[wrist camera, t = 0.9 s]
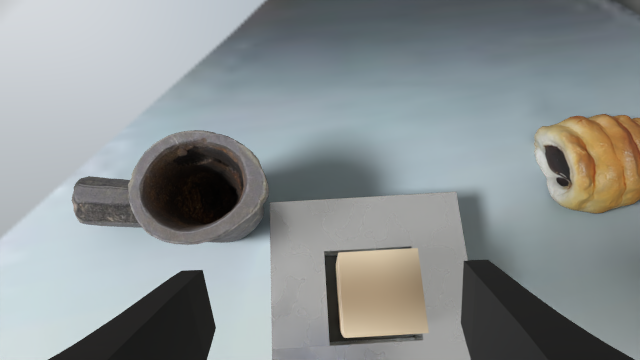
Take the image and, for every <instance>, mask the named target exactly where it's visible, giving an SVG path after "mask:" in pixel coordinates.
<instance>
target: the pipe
mask: <svg viewBox="0 0 640 360" xmlns="http://www.w3.org/2000/svg"><path fill="white" fill-rule="evenodd" d="M268 195H269V188H268V182H267V179H266V177H265V174H264V172H263V170H262V167H261V165H260V162H259V160H258V158H257V157H256V156H255V155H254V154H253V152H251V151H250V150H249V149H248V148H246V147H245V146H244V145H243V144H241V143H239V142H238V141H236V140H234V139H232V138H230V137H228V136H225V135H221V134H216V133H213V132H209V131H196V130H195V131H184V132H179V133H175V134H172V135H169V136H167V137H165V138H163V139H161V140H160V141H158V142H156V143H155V144H153V145H152V146H151V148H149V149H148V150H147V151H146V152H145V153H144V154H143V156H142V157H141V159H140V160H139V162H138V163H137V165H136V166H135V168H134V170H133V173H132V178H131V180H123V179H109V178H100V177H90V176H88V177H85V178H81V179H80V180H79V181H78V182H77V183H76V184H75V186H74V193H73V196H72V202H73V205H74V212H75V215H76V217H77V219H78V220H79V222H80V223H83V224H89V225H99V226H117V227H142V228H143V229H144V230H145V231H146V232H147V233H149V234H150V235H152V236H153V237H155V238H157V239H160V240H162V241H164V242H169V243H174V244H187V245H189V244H200V243H203V242H221V243H222V242H232V241H236V240H239V239H242V238H243V237H245V236H246V235H248V234H249V233H251V232H252V231H253V230H254V229H255V228H256V226H257V225H258V224H259V222H260V221H261V219H262V218H263V215H264V208H263V204H264V203H265V201H266V200H267V198H268Z"/></svg>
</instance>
